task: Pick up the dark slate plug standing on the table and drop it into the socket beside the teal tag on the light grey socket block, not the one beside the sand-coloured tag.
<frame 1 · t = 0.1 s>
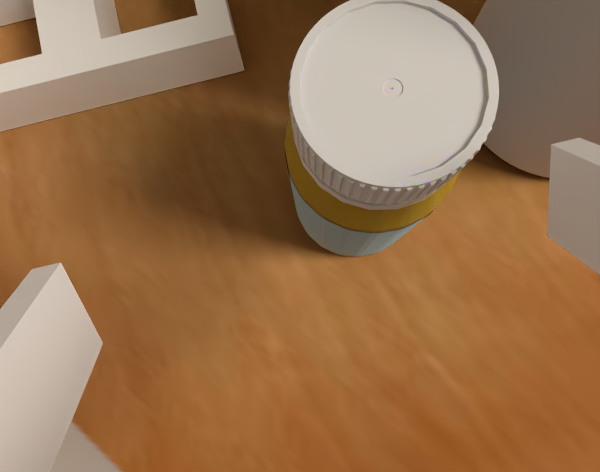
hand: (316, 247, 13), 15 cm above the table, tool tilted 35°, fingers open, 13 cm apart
bottle: (352, 201, 29), on the table
socket block: (89, 8, 31), on the table
cylinder vase: (552, 87, 29), on the table
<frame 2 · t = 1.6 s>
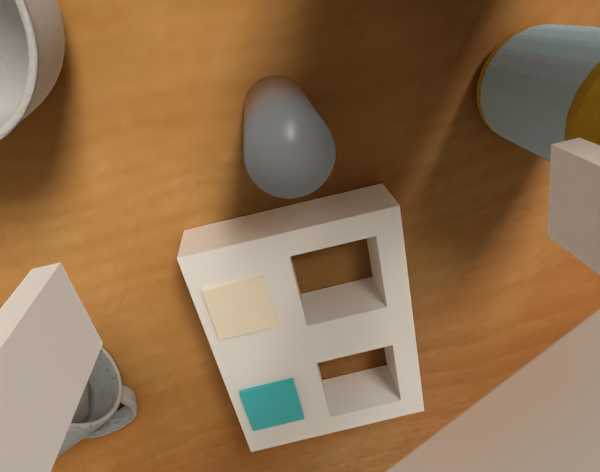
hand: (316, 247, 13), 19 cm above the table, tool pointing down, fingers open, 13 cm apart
plug: (275, 109, 29), on the table
bottle: (522, 82, 30), on the table
socket block: (308, 310, 36), on the table
ceramic mug: (78, 372, 37), on the table
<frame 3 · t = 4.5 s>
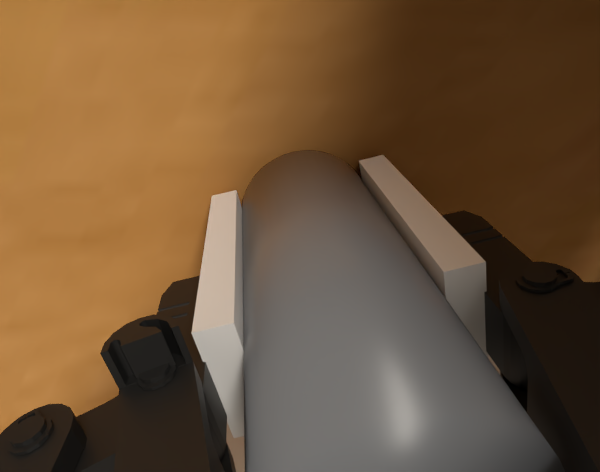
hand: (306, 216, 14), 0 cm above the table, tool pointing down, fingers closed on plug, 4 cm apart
plug: (305, 212, 15), on the table, touching gripper
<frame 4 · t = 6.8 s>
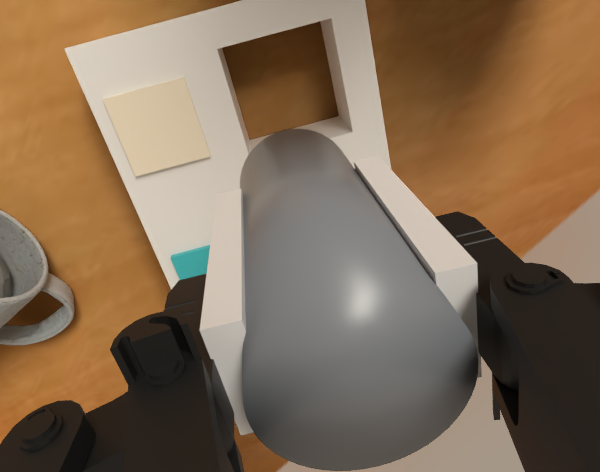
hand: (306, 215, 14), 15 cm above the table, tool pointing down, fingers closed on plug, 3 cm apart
plug: (296, 184, 17), point 12 cm above the table, touching gripper
socket block: (261, 164, 29), on the table
ceramic mug: (1, 264, 30), on the table
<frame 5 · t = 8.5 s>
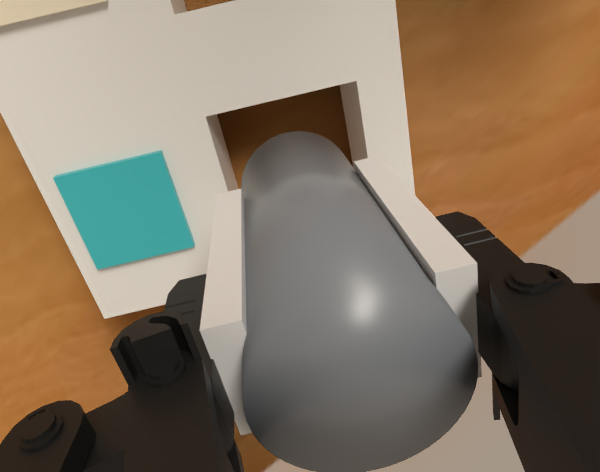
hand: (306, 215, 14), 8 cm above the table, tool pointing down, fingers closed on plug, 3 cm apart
plug: (297, 186, 17), point 6 cm above the table, touching gripper
socket block: (207, 54, 20), on the table
when the fingers open (6 cm above the table, at t = 9.6 s): plug drops 3 cm, resting in socket block.
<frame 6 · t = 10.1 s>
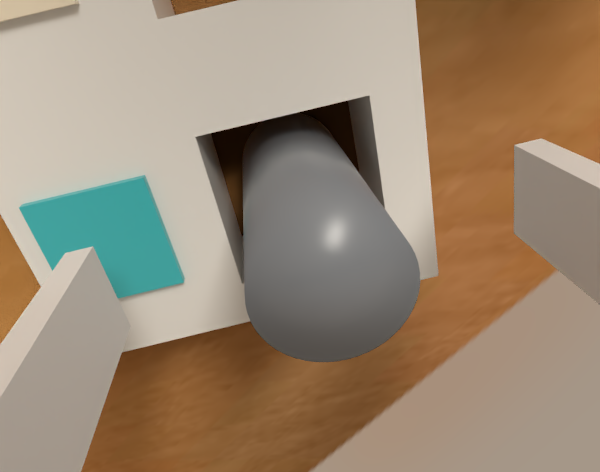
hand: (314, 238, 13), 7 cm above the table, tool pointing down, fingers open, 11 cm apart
plug: (290, 161, 19), resting in socket block
socket block: (198, 64, 17), on the table
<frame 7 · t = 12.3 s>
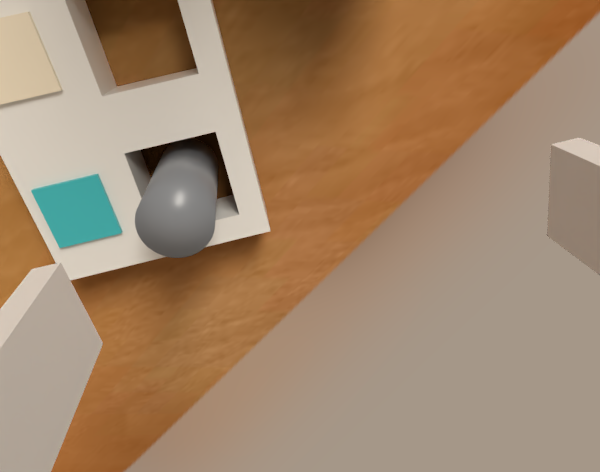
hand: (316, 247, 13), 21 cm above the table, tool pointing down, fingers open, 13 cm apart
plug: (189, 166, 33), resting in socket block
socket block: (131, 111, 31), on the table
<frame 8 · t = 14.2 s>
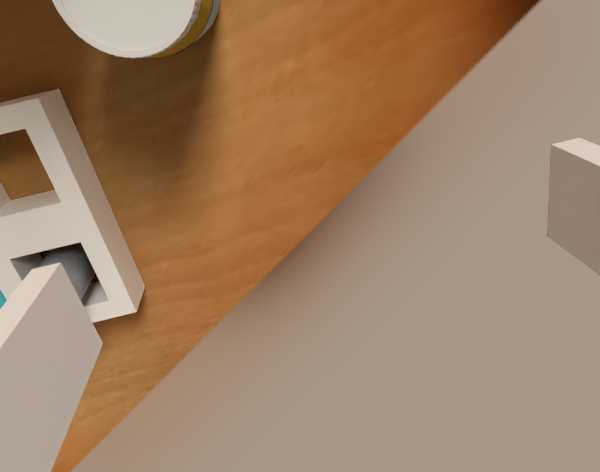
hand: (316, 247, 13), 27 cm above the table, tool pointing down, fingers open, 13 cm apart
plug: (77, 256, 41), resting in socket block
socket block: (24, 217, 39), on the table
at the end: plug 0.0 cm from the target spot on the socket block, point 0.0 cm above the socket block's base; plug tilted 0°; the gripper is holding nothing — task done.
